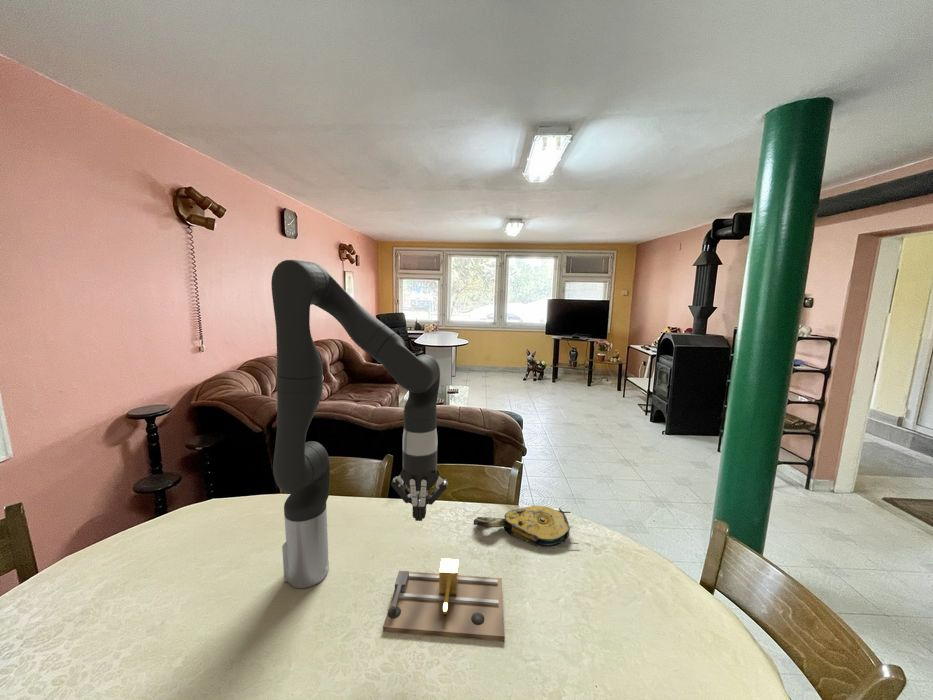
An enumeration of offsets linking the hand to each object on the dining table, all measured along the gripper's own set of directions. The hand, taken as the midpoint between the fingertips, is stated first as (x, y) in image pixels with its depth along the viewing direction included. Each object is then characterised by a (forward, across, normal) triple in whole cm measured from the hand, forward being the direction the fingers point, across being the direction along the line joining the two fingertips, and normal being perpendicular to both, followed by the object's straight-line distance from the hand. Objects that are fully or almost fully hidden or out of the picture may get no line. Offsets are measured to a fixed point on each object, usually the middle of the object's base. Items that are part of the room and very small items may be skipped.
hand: (419, 518), depth 81 cm
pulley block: (+19, +27, +25) cm, 41 cm away
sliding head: (+17, +7, -3) cm, 19 cm away
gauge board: (+19, +7, -3) cm, 20 cm away
